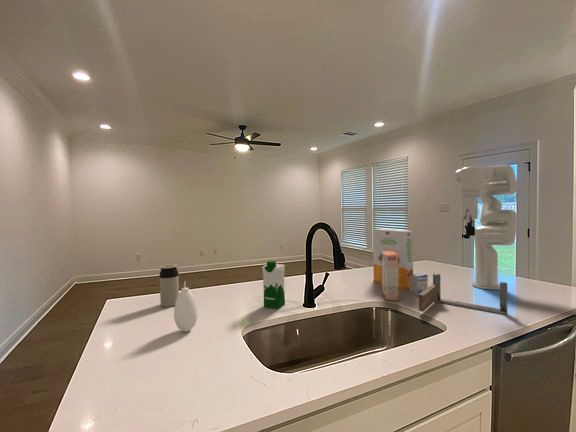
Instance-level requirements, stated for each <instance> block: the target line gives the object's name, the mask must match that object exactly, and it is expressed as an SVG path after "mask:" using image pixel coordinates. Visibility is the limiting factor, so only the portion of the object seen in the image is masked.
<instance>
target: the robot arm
mask: <svg viewBox="0 0 576 432" xmlns="http://www.w3.org/2000/svg"><path fill="white" fill-rule="evenodd" d="M453 180H454V183H455V184H457V185H458V186H460V199H462V201H461V212H460V213H461V214H460V215H461V217H460V218H461V220H462V221H463V220H465V236H470V237H473V241H474V247H475V248H474V249H475V281H473V282H472V284H471V285H472V287H474V286H475V288H478V289H481V290H483V289H484V290H490V291H491V290H492V291H494V290H495V291H496V290H500V283H498V279H499V278H498V277H499V276H498V274H499V269H498V265H499V264H498V263H499V262H498V261H499V260H498V259H499V258H498V257H499V256H498V252H497V250H496V248H495V247H493V246H506V247H507V246H509V247H510V246H512V245H514V243H515V240H516V236H517V234H516V233H517V229H518V227H517V226H518V214H517V212H516V211H515V210H513V209H502V207H503V204H502V202H501V201H500V200H499V199H498V198H496V197H495V196H509V195H513V194H516V193H517V191H518V185H519V184H518V181H517V177H516V174H515V170H514V169H513V167H512V165H510V164H508V163H505V164H504V163H503V164H496V165H495V164H494V165H493V164H492V165H483V166H466V167H463V168H461V169H457V170H456V171H455V172H454V176H453ZM479 198H480V199H481V202H482V208H481V213H480V218H479V223H480V225H479V226H475V225H476V220H477V219H478V216H479V214H478V213H479V208H478V207H479V205H478V202H479V201H478V200H479Z"/></svg>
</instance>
